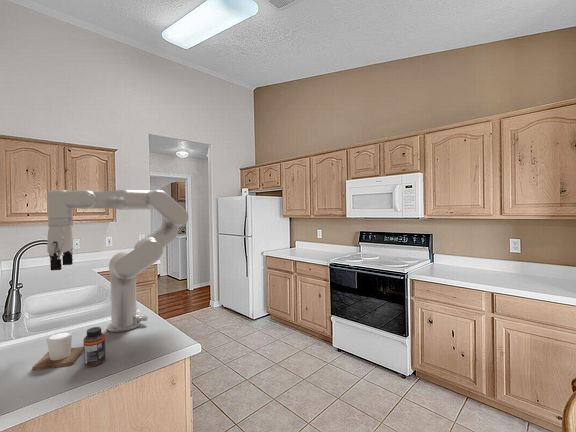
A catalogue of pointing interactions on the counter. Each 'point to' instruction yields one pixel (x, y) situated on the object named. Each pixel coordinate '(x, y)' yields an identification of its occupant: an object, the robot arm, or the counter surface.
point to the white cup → (59, 345)
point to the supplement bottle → (94, 347)
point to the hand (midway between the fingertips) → (62, 267)
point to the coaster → (70, 360)
